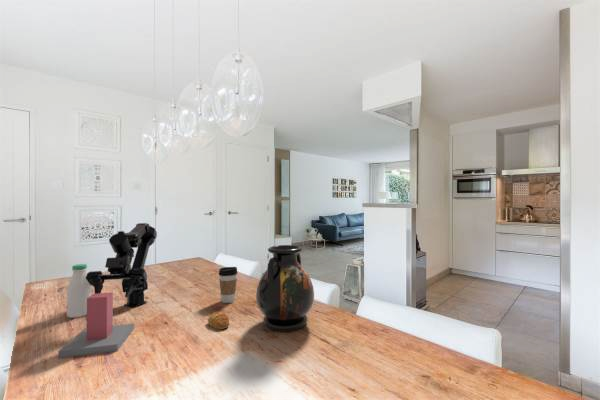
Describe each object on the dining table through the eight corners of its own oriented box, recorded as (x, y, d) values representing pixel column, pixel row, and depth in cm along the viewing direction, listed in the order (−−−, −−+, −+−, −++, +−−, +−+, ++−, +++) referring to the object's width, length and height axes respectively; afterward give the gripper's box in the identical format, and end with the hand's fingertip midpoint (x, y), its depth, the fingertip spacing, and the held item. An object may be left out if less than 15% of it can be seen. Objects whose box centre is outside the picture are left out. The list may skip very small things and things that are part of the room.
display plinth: (84, 334, 94) (84, 328, 94) (134, 329, 98) (134, 323, 98) (58, 358, 79) (58, 351, 79) (117, 350, 83) (117, 344, 83)
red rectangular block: (93, 333, 90) (93, 293, 90) (112, 331, 91) (112, 292, 92) (86, 340, 86) (86, 298, 86) (106, 338, 87) (106, 296, 87)
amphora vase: (293, 343, 87) (292, 254, 88) (243, 326, 99) (243, 248, 99) (324, 319, 105) (324, 245, 106) (279, 307, 117) (279, 241, 117)
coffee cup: (232, 304, 121) (232, 270, 121) (215, 303, 122) (215, 269, 123) (240, 298, 129) (240, 266, 129) (223, 297, 131) (223, 265, 131)
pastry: (234, 327, 99) (234, 316, 99) (216, 333, 95) (216, 321, 95) (223, 318, 106) (223, 309, 106) (205, 324, 102) (205, 313, 102)
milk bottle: (95, 312, 113) (95, 263, 113) (73, 319, 106) (73, 267, 106) (84, 309, 116) (85, 262, 116) (62, 316, 109) (63, 265, 109)
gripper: (88, 249, 100) (71, 289, 89) (145, 247, 105) (135, 284, 94) (98, 266, 107) (83, 304, 97) (150, 263, 112) (142, 300, 101)
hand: (111, 298), depth 97 cm, fingers open, 9 cm apart
